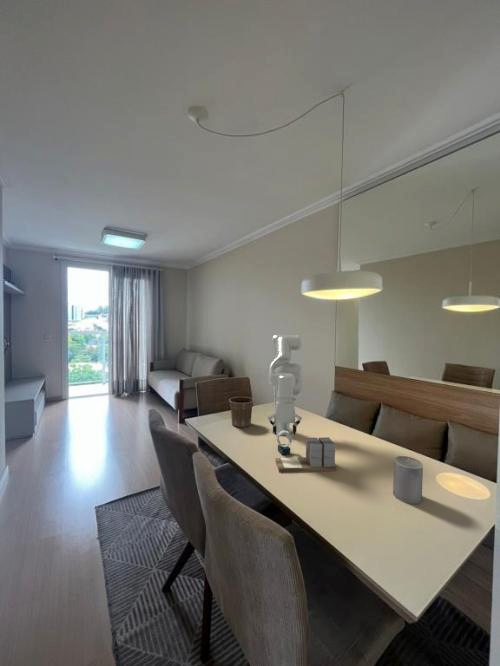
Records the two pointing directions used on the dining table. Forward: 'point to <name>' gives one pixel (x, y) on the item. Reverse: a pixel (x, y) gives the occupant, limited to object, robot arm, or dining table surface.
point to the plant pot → (241, 411)
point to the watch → (284, 448)
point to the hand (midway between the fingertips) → (284, 433)
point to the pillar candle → (408, 479)
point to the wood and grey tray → (311, 457)
